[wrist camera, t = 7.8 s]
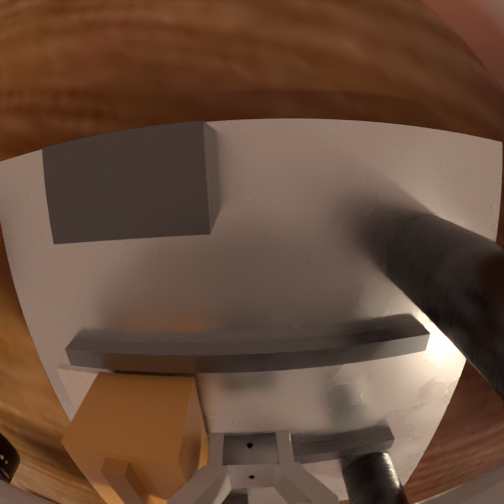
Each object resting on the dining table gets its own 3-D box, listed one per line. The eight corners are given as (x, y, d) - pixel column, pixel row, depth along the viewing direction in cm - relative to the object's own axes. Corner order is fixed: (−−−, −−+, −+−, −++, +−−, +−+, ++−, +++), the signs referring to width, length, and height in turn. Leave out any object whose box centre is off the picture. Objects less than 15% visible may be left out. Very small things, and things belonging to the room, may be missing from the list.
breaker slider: (194, 376, 11) (175, 477, 7) (209, 447, 12) (202, 530, 8) (99, 371, 11) (54, 455, 6) (129, 441, 12) (106, 516, 8)
